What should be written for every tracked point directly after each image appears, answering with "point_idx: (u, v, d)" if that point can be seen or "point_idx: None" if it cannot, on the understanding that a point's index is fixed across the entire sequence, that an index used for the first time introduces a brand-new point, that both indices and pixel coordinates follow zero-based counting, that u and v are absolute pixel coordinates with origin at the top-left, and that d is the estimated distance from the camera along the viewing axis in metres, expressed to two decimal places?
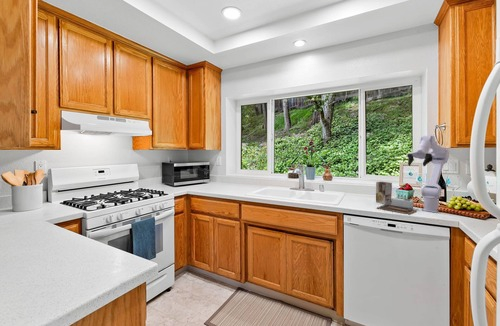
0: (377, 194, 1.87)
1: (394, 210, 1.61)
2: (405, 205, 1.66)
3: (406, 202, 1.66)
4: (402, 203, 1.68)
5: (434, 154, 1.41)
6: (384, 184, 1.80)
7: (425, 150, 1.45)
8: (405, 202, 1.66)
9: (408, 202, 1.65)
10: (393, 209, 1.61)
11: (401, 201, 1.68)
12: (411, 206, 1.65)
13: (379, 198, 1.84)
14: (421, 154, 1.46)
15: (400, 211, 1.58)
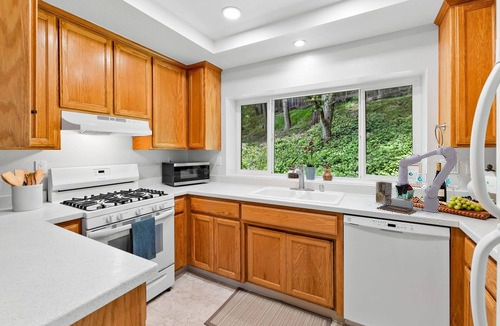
0: (377, 194, 1.87)
1: (394, 210, 1.61)
2: (405, 205, 1.66)
3: (406, 202, 1.66)
4: (402, 203, 1.68)
5: None
6: (384, 184, 1.80)
7: (399, 179, 1.69)
8: (405, 202, 1.66)
9: (408, 202, 1.65)
10: (393, 209, 1.61)
11: (401, 201, 1.68)
12: (411, 206, 1.65)
13: (379, 198, 1.84)
14: None
15: (400, 211, 1.58)
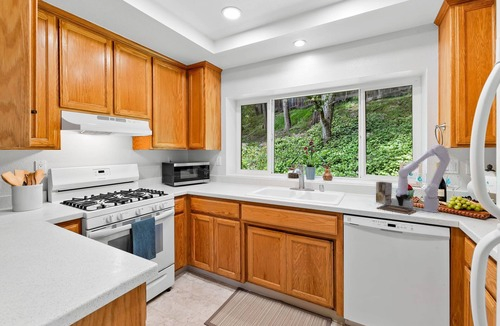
0: (377, 194, 1.87)
1: (394, 210, 1.61)
2: (405, 205, 1.66)
3: (406, 202, 1.66)
4: None
5: None
6: (384, 184, 1.80)
7: (398, 189, 1.70)
8: (405, 202, 1.66)
9: (408, 202, 1.65)
10: (393, 209, 1.61)
11: None
12: (411, 206, 1.65)
13: (379, 198, 1.84)
14: None
15: (400, 211, 1.58)
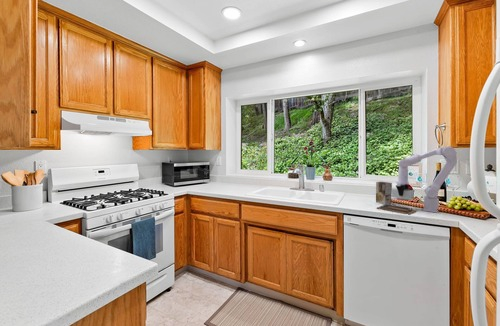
0: (377, 194, 1.87)
1: (394, 210, 1.61)
2: (405, 195, 1.66)
3: (406, 192, 1.65)
4: None
5: None
6: (384, 184, 1.80)
7: (399, 179, 1.69)
8: (405, 192, 1.66)
9: (408, 192, 1.64)
10: (393, 209, 1.61)
11: None
12: (411, 196, 1.65)
13: (379, 198, 1.84)
14: None
15: (400, 211, 1.58)
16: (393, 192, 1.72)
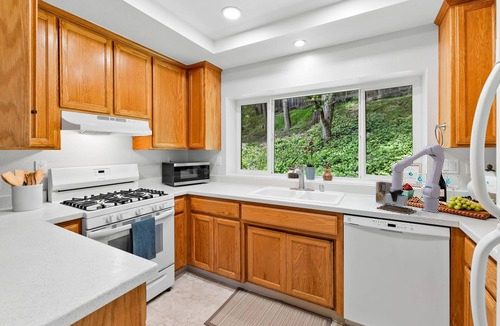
0: (377, 194, 1.87)
1: (394, 210, 1.61)
2: (399, 201, 1.60)
3: (400, 197, 1.59)
4: None
5: (390, 189, 1.60)
6: (384, 184, 1.80)
7: (392, 185, 1.63)
8: (399, 197, 1.60)
9: (402, 198, 1.58)
10: (393, 209, 1.61)
11: None
12: (405, 202, 1.59)
13: (379, 198, 1.84)
14: None
15: (400, 211, 1.58)
16: (386, 197, 1.66)
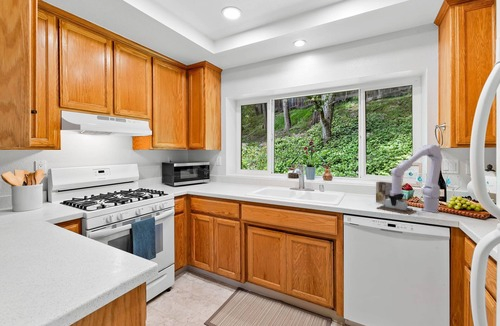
0: (377, 194, 1.87)
1: (394, 210, 1.61)
2: (399, 206, 1.60)
3: (400, 203, 1.60)
4: (396, 204, 1.62)
5: (390, 194, 1.60)
6: (384, 184, 1.80)
7: (392, 189, 1.64)
8: (399, 203, 1.60)
9: (402, 203, 1.59)
10: (393, 209, 1.61)
11: None
12: (405, 207, 1.59)
13: (379, 198, 1.84)
14: None
15: (400, 211, 1.58)
16: (386, 203, 1.67)
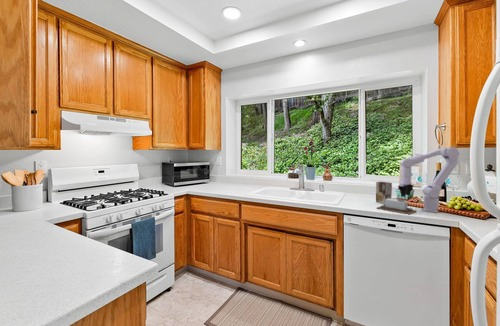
0: (377, 194, 1.87)
1: (394, 210, 1.61)
2: (399, 206, 1.60)
3: (400, 203, 1.60)
4: (396, 204, 1.62)
5: None
6: (384, 184, 1.80)
7: (401, 180, 1.65)
8: (399, 203, 1.60)
9: (402, 203, 1.59)
10: (393, 209, 1.61)
11: (395, 202, 1.62)
12: (405, 207, 1.59)
13: (379, 198, 1.84)
14: None
15: (400, 211, 1.58)
16: (386, 203, 1.67)
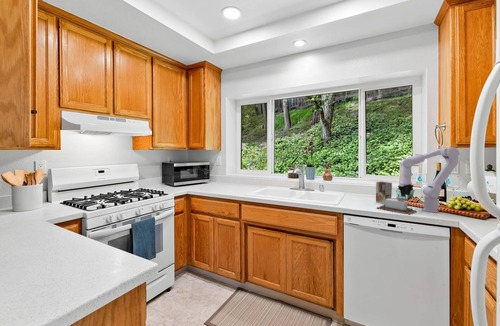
0: (377, 194, 1.87)
1: (394, 210, 1.61)
2: (399, 206, 1.60)
3: (400, 203, 1.60)
4: (396, 204, 1.62)
5: None
6: (384, 184, 1.80)
7: (401, 180, 1.65)
8: (399, 203, 1.60)
9: (402, 203, 1.59)
10: (393, 209, 1.61)
11: (395, 202, 1.62)
12: (405, 207, 1.59)
13: (379, 198, 1.84)
14: None
15: (400, 211, 1.58)
16: (386, 203, 1.67)
